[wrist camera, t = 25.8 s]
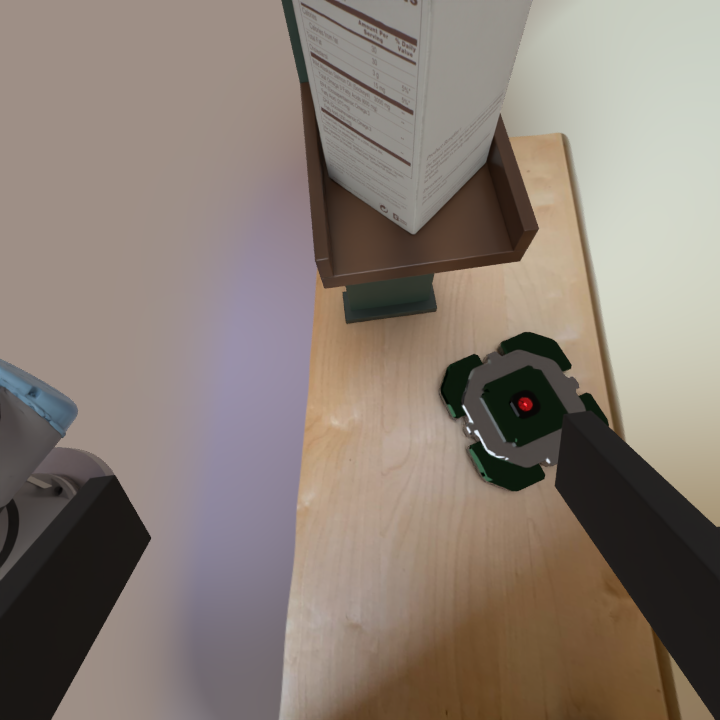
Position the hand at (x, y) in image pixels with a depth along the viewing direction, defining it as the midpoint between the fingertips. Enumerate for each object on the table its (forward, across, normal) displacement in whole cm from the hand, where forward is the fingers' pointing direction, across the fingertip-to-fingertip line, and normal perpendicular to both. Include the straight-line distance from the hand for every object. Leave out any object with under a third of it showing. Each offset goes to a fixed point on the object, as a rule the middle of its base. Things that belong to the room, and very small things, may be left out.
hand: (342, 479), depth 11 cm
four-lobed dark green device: (+34, -20, +23) cm, 46 cm away
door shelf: (+24, -5, -2) cm, 25 cm away
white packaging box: (+18, -5, -8) cm, 20 cm away
